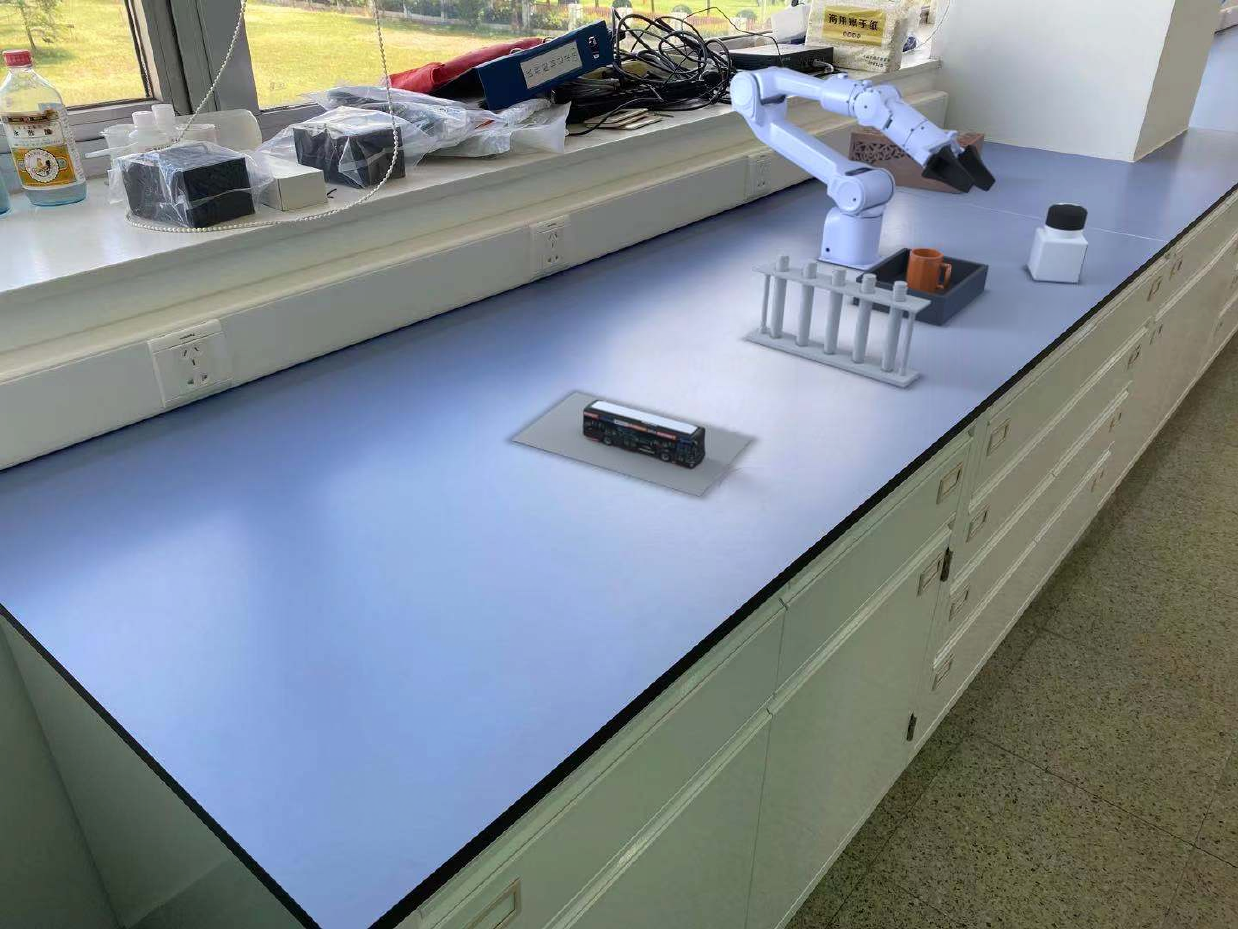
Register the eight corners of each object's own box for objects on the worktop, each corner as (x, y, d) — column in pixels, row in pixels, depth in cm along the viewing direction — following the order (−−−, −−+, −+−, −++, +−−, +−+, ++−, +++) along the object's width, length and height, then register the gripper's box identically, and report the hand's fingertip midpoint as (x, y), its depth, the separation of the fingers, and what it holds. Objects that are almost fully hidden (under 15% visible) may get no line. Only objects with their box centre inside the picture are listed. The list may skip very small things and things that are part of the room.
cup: (898, 295, 155) (905, 253, 152) (911, 286, 159) (918, 245, 155) (939, 305, 152) (946, 262, 148) (950, 296, 155) (958, 254, 152)
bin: (852, 304, 153) (856, 277, 151) (900, 272, 166) (904, 247, 164) (940, 326, 146) (945, 298, 144) (983, 291, 158) (989, 264, 156)
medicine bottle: (1078, 284, 161) (1096, 213, 155) (1033, 281, 163) (1050, 210, 156) (1070, 269, 167) (1087, 201, 161) (1027, 266, 169) (1042, 198, 162)
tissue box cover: (976, 178, 219) (984, 133, 214) (959, 193, 209) (968, 146, 203) (867, 163, 231) (873, 120, 226) (846, 177, 220) (851, 132, 215)
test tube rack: (918, 376, 131) (934, 284, 124) (903, 388, 128) (920, 294, 121) (762, 330, 144) (769, 244, 138) (745, 339, 141) (752, 252, 135)
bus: (699, 496, 105) (701, 463, 103) (511, 440, 116) (509, 409, 114) (750, 439, 116) (753, 408, 114) (575, 392, 126) (574, 363, 124)
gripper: (911, 112, 146) (978, 165, 142) (952, 114, 157) (1016, 163, 152) (885, 153, 151) (949, 205, 146) (926, 152, 161) (987, 201, 156)
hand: (981, 186), depth 149 cm, fingers open, 7 cm apart
